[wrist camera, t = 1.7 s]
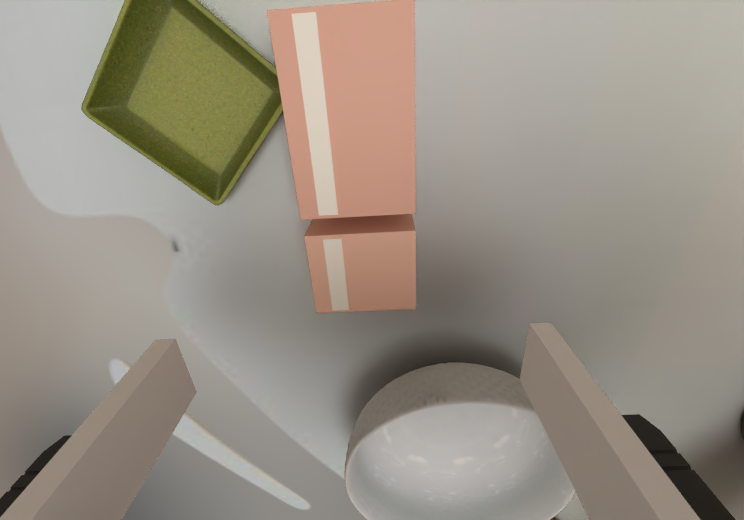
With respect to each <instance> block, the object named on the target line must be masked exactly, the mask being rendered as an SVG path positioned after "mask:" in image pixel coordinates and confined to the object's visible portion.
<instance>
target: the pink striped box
mask: <svg viewBox="0 0 744 520" xmlns="http://www.w3.org/2000/svg"><path fill="white" fill-rule="evenodd" d="M267 14H268V20H269V26H270V33H271V39H272V45H273V51H274V57H275V64H276V70H277V76H278V82H279V88H280V95H281V101H282V107H283V113H284V119H285V126H286V132H287V138H288V144H289V150H290V157H291V163H292V169H293V175H294V181H295V188H296V194H297V200H298V206H299V213H300V219H301V220H305V219H324V218H342V217H360V216H379V215H397V214H416V154H415V0H391V1H378V2H365V3H353V4H340V5H327V6H315V7H302V8H289V9H276V10H267Z"/></svg>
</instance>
